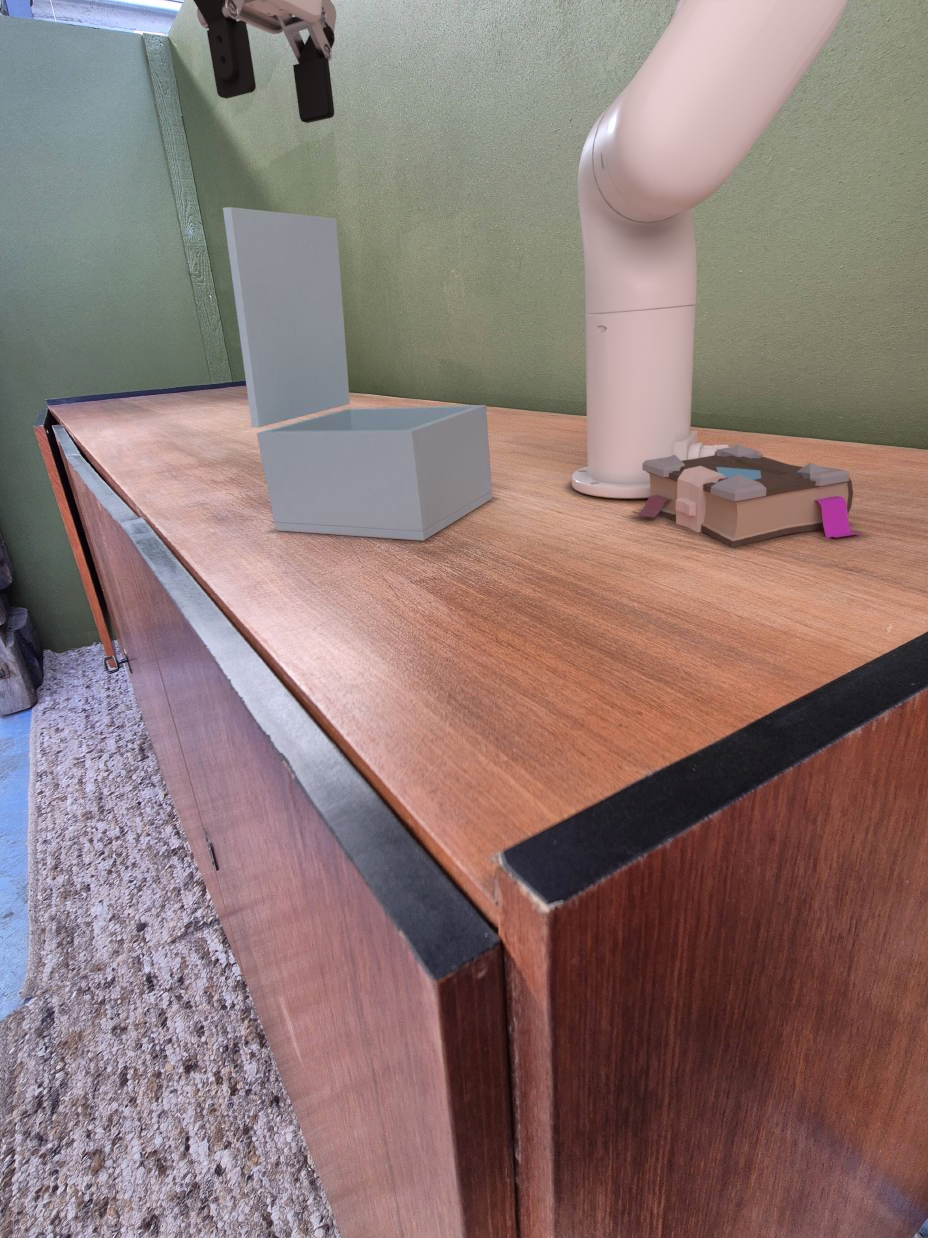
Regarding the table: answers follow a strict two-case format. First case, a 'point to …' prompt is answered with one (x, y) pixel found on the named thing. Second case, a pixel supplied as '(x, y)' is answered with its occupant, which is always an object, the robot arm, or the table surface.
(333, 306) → the lid
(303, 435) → the chest
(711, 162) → the robot arm
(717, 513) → the book
